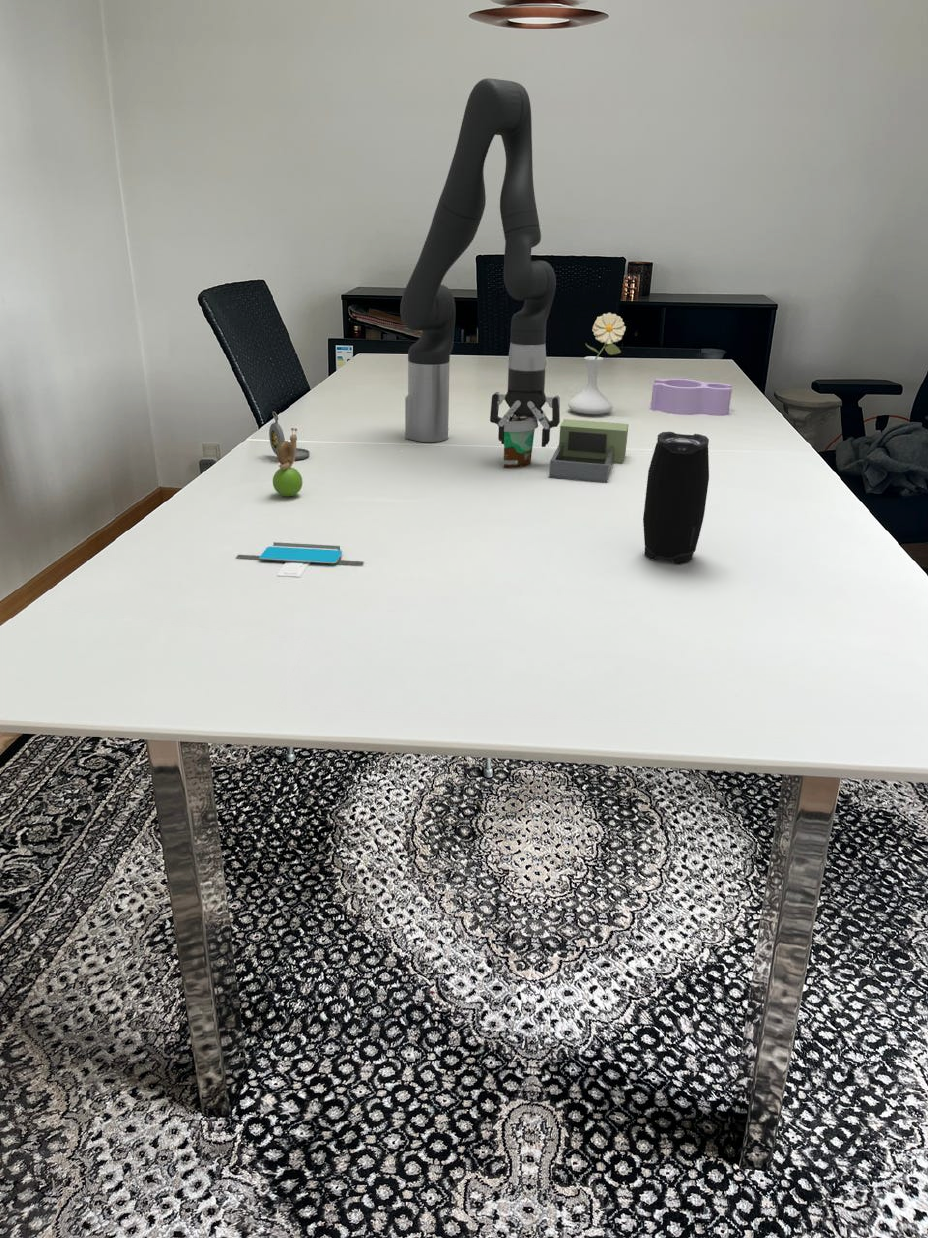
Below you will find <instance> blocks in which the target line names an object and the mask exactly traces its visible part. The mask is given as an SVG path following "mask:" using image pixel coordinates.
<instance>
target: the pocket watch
mask: <svg viewBox="0 0 928 1238" xmlns="http://www.w3.org/2000/svg"><path fill="white" fill-rule="evenodd" d="M272 416H273V418H274V421H275V422H273V423H271V424H270V426H269V429H268V438H269V445H270V447H271V449H272V452H273V453H274V454H275V455H276V456H277V449H278V447H279V445H280V443H281V442H283V441H286V439H285V433H284V430H283V428H282V426H281V425H280V424H279V422H278V420H279V416H278V414H277V412H276V411H272ZM310 453H311V451H310V450H308V449H307V448H301V447H299V448H297V447H296V456H295V460H301V459H306V458H308V457H309V456H310V455H311V454H310ZM295 460H294V461H295Z"/></svg>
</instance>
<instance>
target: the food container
mask: <svg viewBox="0 0 928 1238" xmlns="http://www.w3.org/2000/svg"><path fill="white" fill-rule="evenodd" d="M538 422H539V421H538V420H537V418H536V417H535V416H532V417H527V416H517V415H515V414H514V413H513V415H512V416H511V417H510V418H509V419H508V421H505V424H504V444H503V469H517V468H524V467H528V466H530V465H531V461H532V453H533V448H534V447H533V446H534V438H535V430H536V429H538V427H539V423H538Z"/></svg>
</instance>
